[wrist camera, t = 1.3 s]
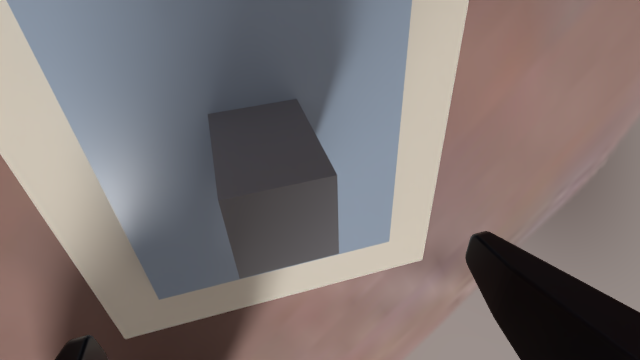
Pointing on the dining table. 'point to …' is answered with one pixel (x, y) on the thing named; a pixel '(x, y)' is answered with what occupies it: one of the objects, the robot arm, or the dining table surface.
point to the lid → (231, 124)
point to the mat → (153, 314)
